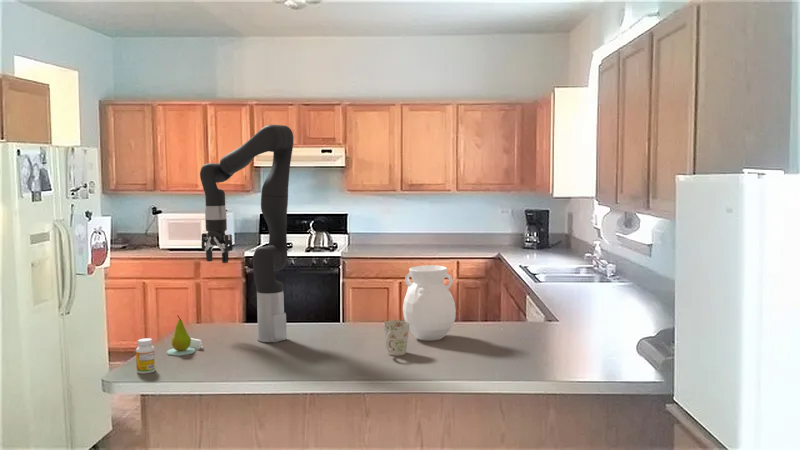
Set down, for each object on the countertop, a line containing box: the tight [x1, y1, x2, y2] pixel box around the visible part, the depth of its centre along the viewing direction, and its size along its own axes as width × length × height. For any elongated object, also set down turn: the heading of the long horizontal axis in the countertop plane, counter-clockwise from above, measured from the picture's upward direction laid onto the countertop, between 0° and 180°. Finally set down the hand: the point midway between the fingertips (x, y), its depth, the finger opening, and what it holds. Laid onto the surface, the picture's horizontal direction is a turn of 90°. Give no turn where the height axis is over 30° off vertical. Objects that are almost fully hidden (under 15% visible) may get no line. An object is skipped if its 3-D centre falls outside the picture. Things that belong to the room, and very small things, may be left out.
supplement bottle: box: [135, 337, 156, 375], centre depth 227 cm, size 5×5×10 cm
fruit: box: [171, 314, 192, 351], centre depth 250 cm, size 6×6×12 cm
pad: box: [166, 347, 196, 357], centre depth 250 cm, size 9×9×1 cm
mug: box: [383, 320, 410, 357], centre depth 243 cm, size 8×13×10 cm, turn 161°
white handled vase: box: [402, 264, 457, 342], centre depth 266 cm, size 19×18×25 cm
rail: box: [189, 337, 205, 351], centre depth 257 cm, size 10×2×3 cm, turn 54°
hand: (217, 262), depth 278 cm, fingers open, 8 cm apart
